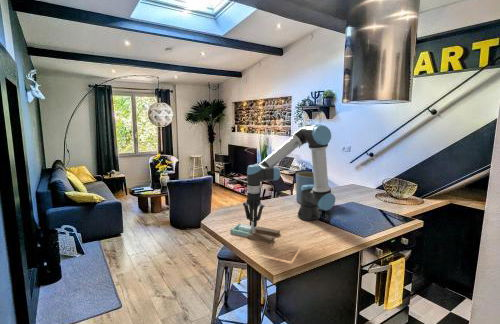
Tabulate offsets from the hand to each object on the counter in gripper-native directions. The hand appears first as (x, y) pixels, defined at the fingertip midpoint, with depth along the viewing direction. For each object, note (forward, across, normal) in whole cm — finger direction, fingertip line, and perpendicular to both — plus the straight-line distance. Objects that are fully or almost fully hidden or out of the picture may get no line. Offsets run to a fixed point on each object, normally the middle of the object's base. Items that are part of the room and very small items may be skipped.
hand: (253, 231), depth 157 cm
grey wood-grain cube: (+2, -3, 0) cm, 3 cm away
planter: (+3, +14, +81) cm, 82 cm away
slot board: (+2, +7, 0) cm, 7 cm away
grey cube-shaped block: (+2, -7, 0) cm, 7 cm away
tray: (+2, -6, 0) cm, 7 cm away
